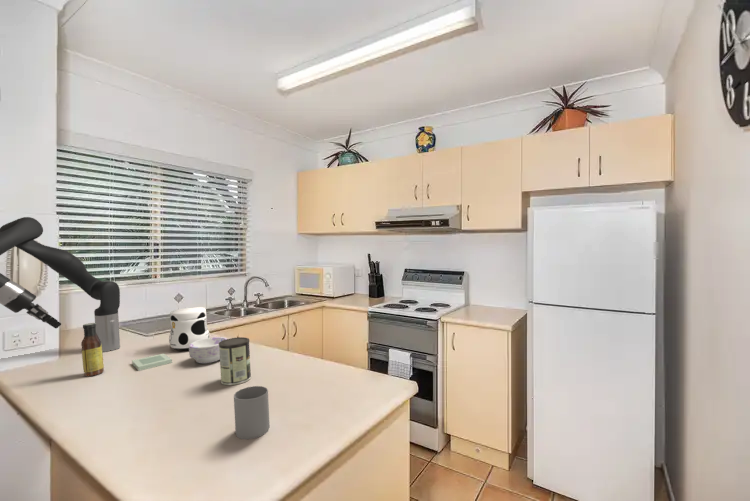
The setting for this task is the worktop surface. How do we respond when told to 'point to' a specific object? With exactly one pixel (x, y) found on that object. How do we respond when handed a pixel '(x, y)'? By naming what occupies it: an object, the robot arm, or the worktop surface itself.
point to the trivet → (151, 361)
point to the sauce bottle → (91, 351)
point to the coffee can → (235, 361)
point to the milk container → (187, 327)
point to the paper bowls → (206, 350)
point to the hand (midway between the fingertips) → (57, 324)
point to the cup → (251, 412)
